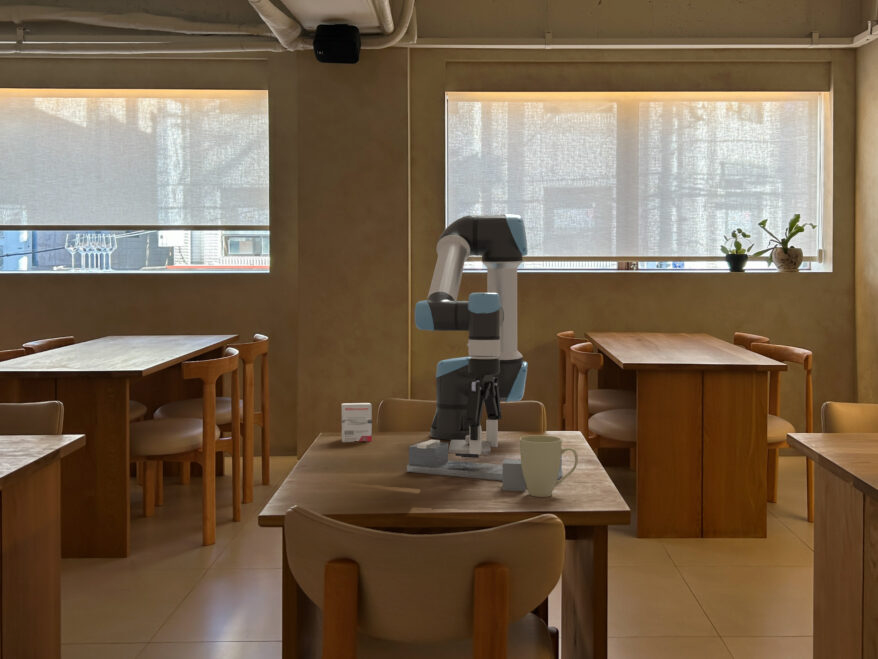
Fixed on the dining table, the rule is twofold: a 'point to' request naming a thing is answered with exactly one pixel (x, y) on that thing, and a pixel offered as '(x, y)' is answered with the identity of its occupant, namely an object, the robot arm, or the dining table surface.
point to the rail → (451, 463)
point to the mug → (542, 463)
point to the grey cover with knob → (463, 448)
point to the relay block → (512, 475)
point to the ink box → (356, 422)
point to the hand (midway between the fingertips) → (483, 449)
